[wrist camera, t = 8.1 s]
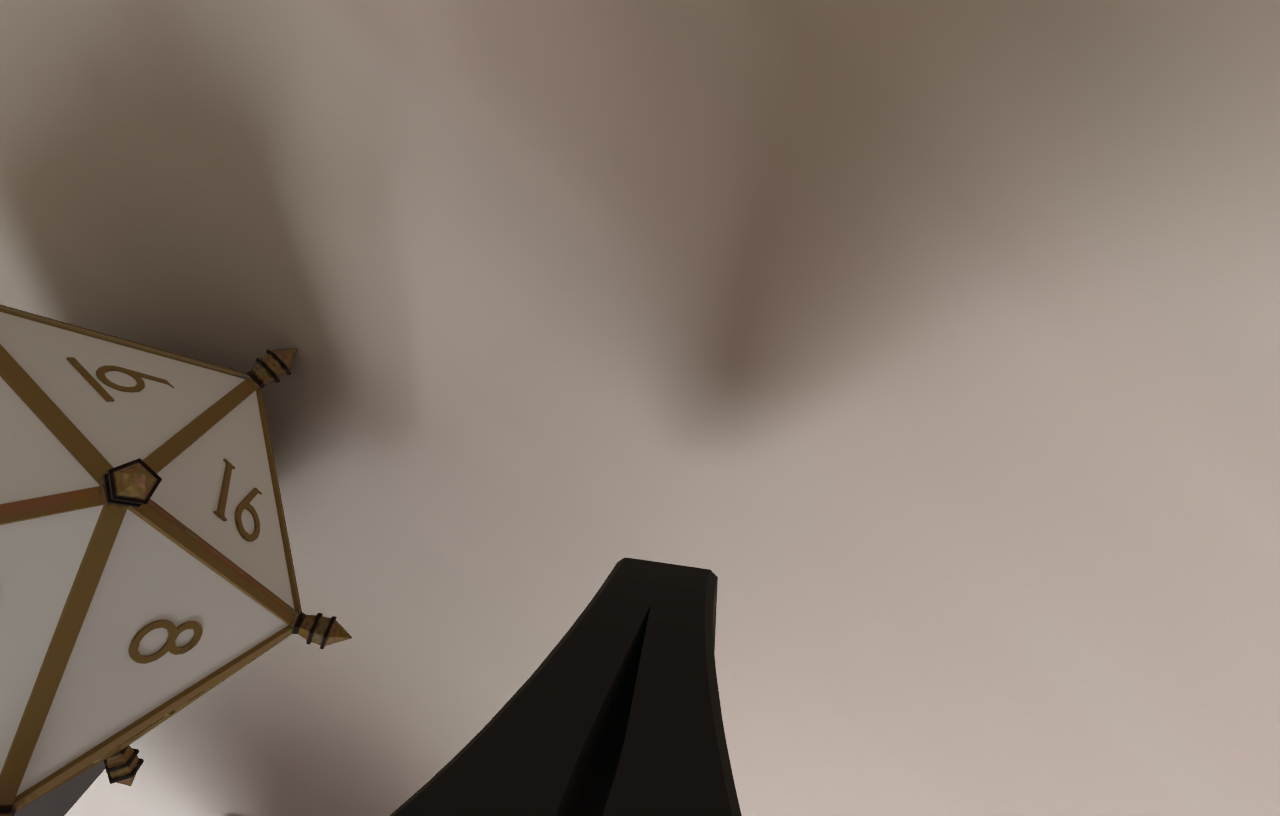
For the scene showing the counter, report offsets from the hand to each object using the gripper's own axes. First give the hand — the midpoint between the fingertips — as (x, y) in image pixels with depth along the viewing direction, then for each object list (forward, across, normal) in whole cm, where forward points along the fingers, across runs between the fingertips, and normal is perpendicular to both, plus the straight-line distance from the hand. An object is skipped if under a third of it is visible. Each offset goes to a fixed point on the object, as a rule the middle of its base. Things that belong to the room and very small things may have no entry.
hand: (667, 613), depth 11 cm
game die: (+3, +10, 0) cm, 11 cm away
